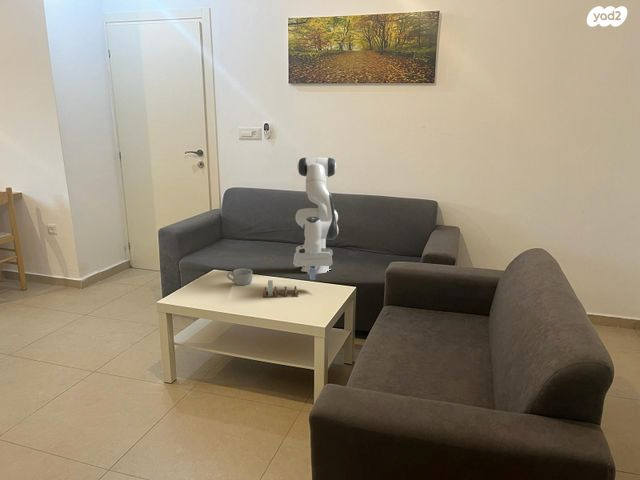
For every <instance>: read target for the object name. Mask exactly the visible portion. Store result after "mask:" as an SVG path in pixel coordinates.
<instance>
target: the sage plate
mask: <svg viewBox="0 0 640 480" xmlns="http://www.w3.org/2000/svg"><path fill="white" fill-rule="evenodd" d="M273 283H274V281H273V280H267V291H268V296H273V290H274V284H273Z"/></svg>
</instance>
